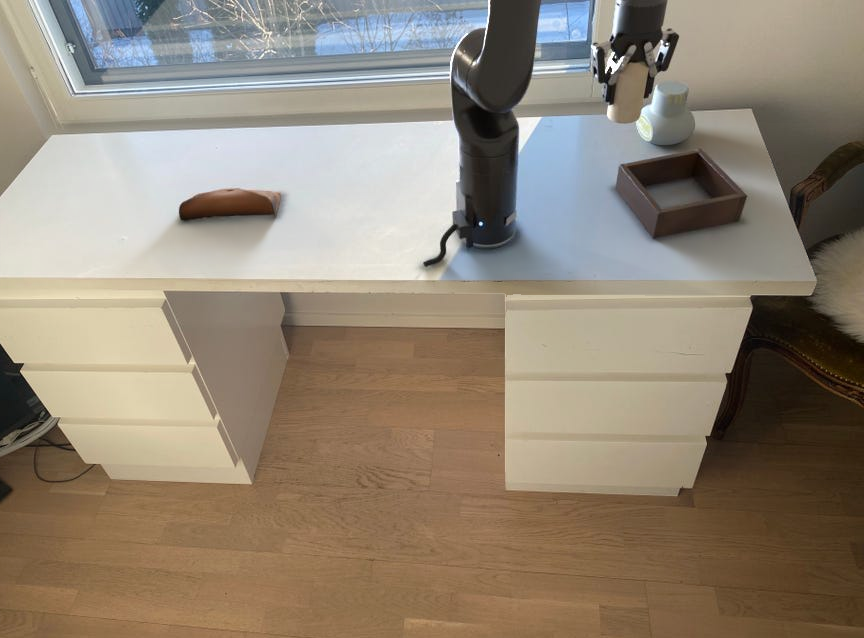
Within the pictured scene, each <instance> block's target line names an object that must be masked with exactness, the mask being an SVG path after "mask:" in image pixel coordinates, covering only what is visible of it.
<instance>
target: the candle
mask: <svg viewBox="0 0 864 638" xmlns="http://www.w3.org/2000/svg"><path fill="white" fill-rule="evenodd" d="M618 63H619V61H618ZM648 70H649V68H648V66H647V65H646V63H645V62H644V61H642V62H633V63H629V64H627V65H626V67H625V69H624V71H623V72H621V73H620V74H619V76H618V78H617V80H616V82H615V84H616V90H615V97H614V103H613V105H609V106H608V105H607V112H606V114H607V118H608V119H609V120H610V121H611V122H612V123H616V124H623V125H625V124H632V123H636V121H637V120H638V119H639V118H640V115H641V110H642V109H643V104H644V100H645V99H644V93H645V87H646V82H647V76H648Z"/></svg>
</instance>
